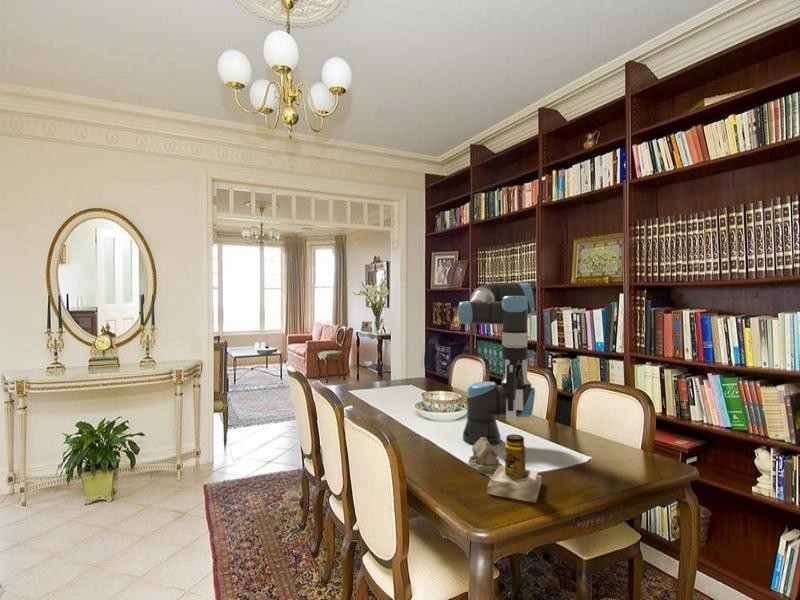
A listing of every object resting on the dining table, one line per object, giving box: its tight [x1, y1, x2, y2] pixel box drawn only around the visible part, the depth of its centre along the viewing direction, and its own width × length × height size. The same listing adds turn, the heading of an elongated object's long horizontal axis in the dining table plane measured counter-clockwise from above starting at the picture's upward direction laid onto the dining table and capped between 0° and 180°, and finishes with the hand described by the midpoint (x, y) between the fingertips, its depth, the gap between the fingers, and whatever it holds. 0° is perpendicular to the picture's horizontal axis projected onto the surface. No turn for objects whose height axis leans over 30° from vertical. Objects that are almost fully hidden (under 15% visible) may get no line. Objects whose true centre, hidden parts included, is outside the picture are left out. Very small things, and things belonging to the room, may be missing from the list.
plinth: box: [486, 464, 542, 503], centre depth 134 cm, size 14×14×4 cm
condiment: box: [502, 433, 531, 481], centre depth 135 cm, size 7×8×12 cm
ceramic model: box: [468, 437, 500, 475], centre depth 152 cm, size 14×11×10 cm
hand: (515, 415), depth 134 cm, fingers open, 13 cm apart
